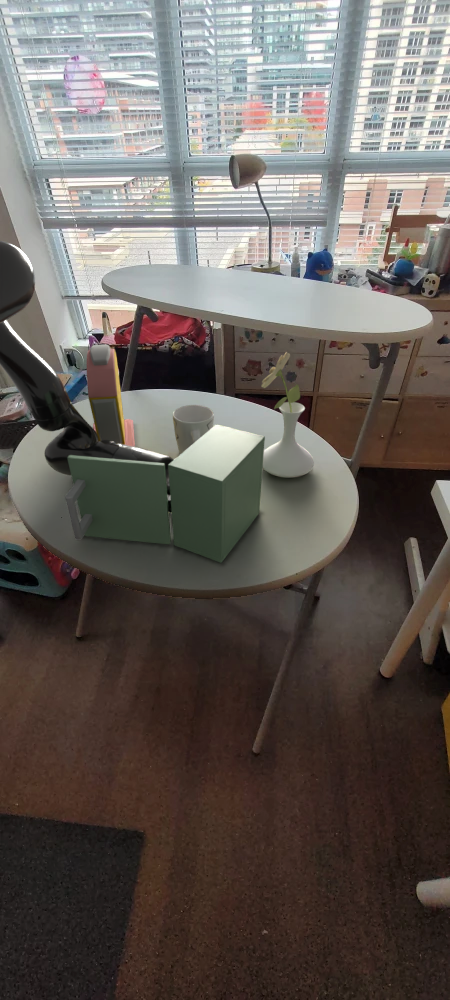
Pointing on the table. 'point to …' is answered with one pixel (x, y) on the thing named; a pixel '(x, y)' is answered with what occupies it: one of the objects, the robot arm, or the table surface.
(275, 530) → the table surface
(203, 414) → the mug
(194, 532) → the cupboard
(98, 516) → the cupboard door
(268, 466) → the flower in vase
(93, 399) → the yellow alarm clock
